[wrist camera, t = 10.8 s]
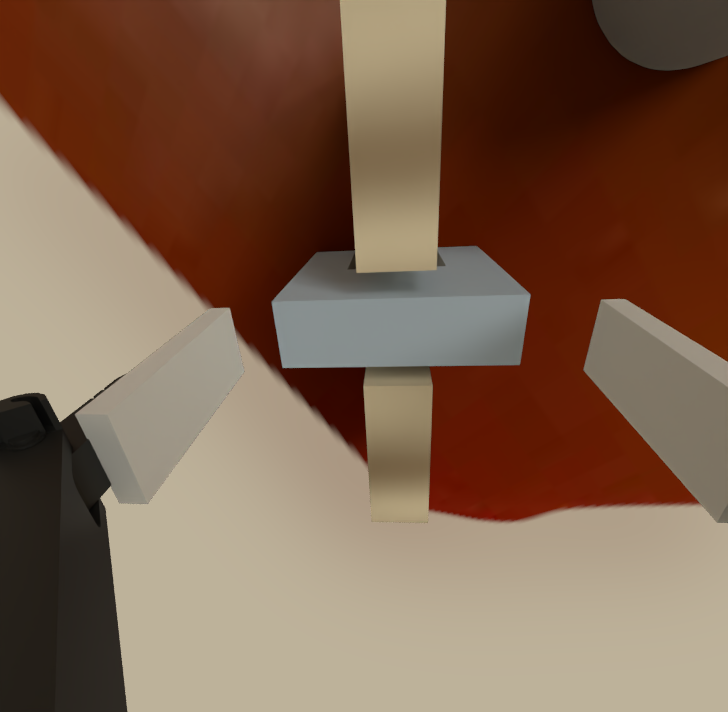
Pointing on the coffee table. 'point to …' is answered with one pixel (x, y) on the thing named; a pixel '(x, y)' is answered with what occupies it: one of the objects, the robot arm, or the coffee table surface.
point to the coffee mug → (665, 31)
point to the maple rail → (395, 216)
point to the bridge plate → (401, 314)
